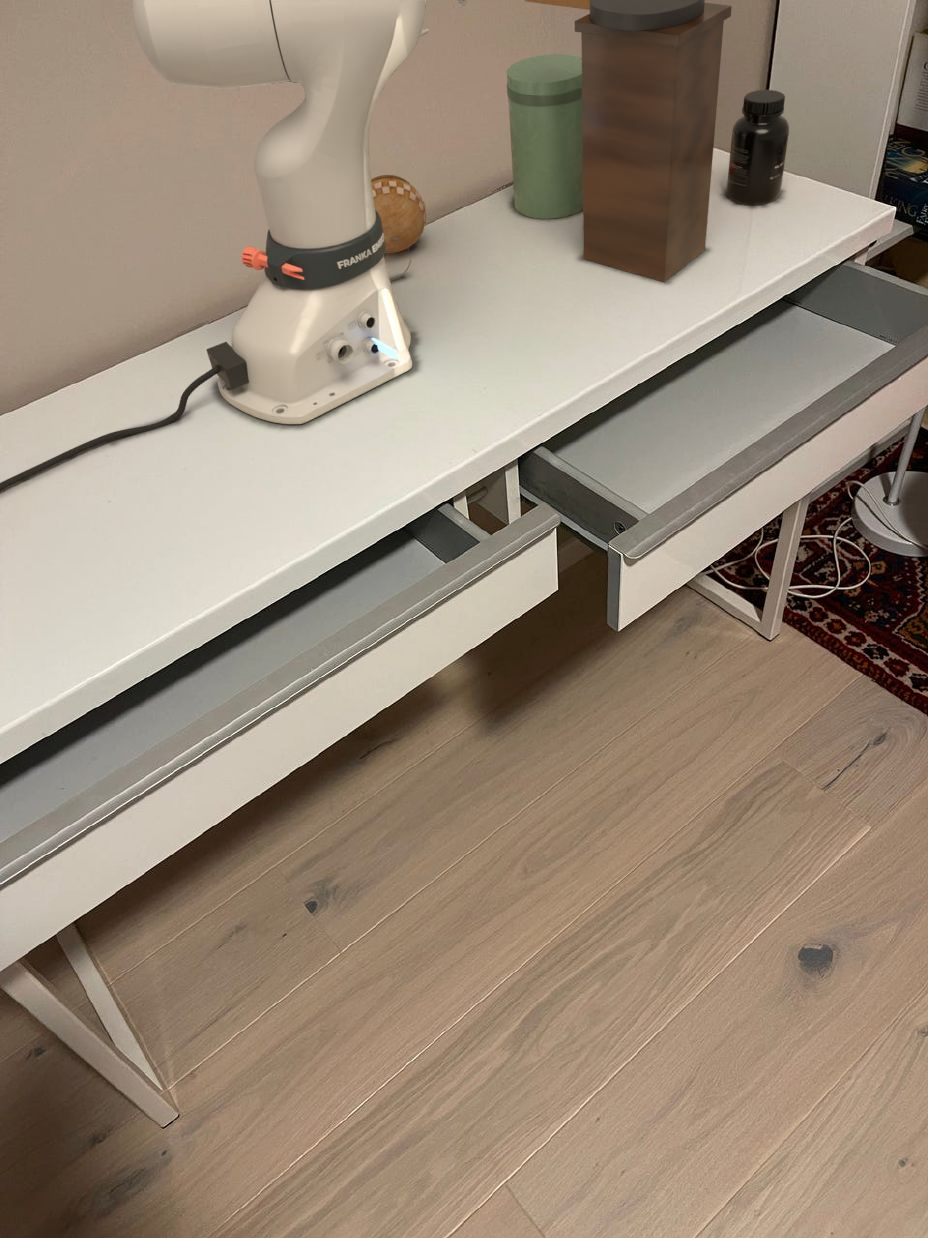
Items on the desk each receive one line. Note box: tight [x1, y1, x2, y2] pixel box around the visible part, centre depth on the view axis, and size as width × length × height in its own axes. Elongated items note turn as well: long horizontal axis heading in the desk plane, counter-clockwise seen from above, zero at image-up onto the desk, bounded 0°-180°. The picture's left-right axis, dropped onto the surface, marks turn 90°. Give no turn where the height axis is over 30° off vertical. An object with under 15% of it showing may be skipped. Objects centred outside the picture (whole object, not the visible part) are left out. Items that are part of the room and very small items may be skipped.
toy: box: [371, 174, 427, 282], centre depth 123 cm, size 9×9×15 cm
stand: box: [574, 2, 733, 283], centre depth 112 cm, size 10×12×26 cm
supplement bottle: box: [726, 89, 790, 206], centre depth 125 cm, size 7×7×12 cm
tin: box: [506, 53, 583, 220], centre depth 127 cm, size 10×10×16 cm
